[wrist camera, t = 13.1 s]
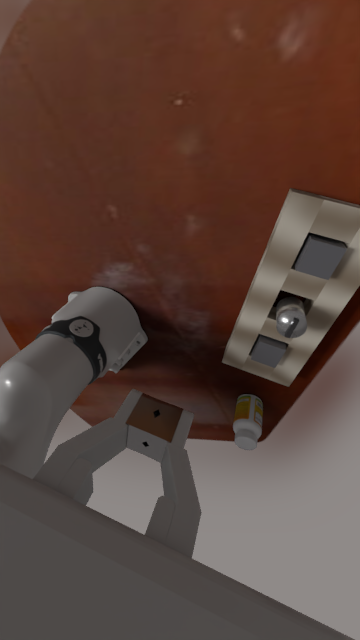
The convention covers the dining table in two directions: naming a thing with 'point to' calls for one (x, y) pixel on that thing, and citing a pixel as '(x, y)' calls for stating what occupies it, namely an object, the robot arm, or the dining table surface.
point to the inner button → (268, 350)
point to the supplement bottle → (248, 421)
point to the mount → (297, 284)
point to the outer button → (319, 256)
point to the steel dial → (290, 317)
